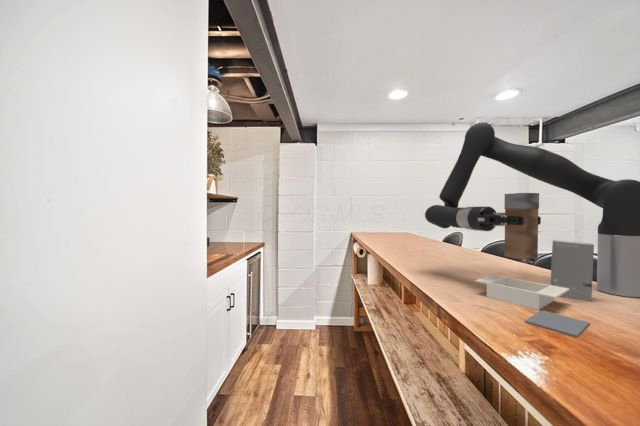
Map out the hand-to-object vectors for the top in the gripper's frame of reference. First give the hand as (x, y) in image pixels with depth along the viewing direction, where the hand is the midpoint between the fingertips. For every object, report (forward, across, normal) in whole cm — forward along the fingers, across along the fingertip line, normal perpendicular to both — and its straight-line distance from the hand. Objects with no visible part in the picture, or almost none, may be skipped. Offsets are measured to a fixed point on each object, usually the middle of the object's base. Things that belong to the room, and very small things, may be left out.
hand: (531, 220), depth 67 cm
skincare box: (-1, +17, +22) cm, 28 cm away
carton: (-3, 0, +22) cm, 22 cm away
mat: (+11, -8, +22) cm, 25 cm away
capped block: (-3, 0, +10) cm, 10 cm away
